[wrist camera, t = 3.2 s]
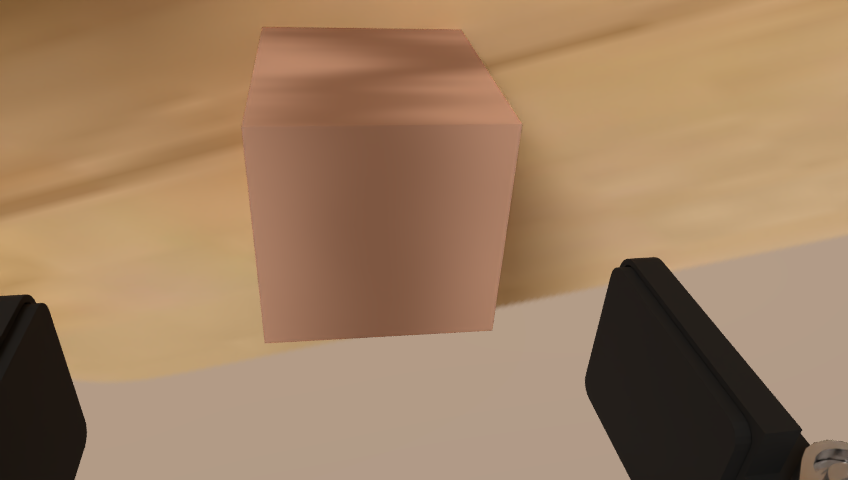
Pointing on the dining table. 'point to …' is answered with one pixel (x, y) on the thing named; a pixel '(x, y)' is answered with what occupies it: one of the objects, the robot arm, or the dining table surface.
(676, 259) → the dining table surface
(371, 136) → the terracotta block
